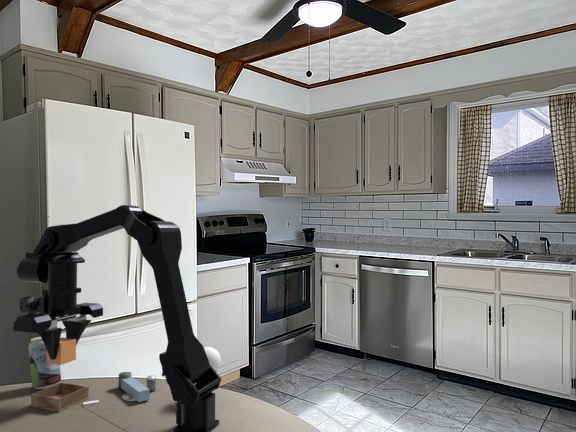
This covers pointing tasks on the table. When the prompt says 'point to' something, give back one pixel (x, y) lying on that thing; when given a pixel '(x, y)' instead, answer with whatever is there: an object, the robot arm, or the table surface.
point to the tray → (59, 396)
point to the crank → (133, 387)
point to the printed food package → (42, 366)
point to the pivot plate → (127, 397)
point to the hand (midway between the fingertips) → (61, 356)
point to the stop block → (64, 352)
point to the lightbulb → (213, 357)
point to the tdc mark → (91, 402)
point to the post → (151, 383)
